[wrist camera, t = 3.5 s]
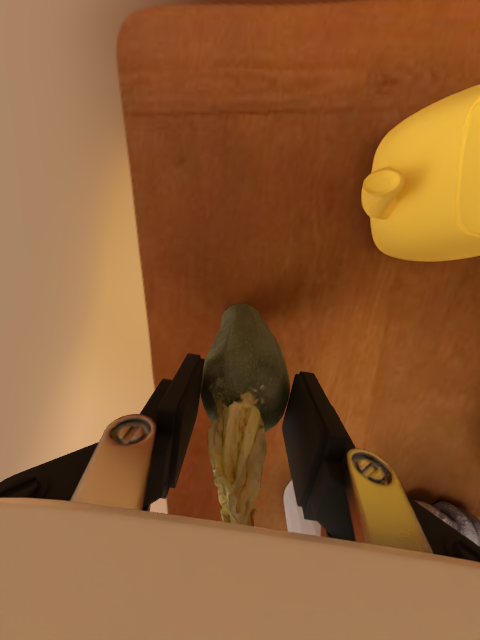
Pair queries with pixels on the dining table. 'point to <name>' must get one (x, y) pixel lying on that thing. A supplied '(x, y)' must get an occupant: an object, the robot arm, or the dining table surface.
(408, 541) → the robot arm
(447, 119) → the teapot
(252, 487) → the vegetable
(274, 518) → the dining table surface
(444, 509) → the seashell
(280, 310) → the dining table surface
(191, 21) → the dining table surface
